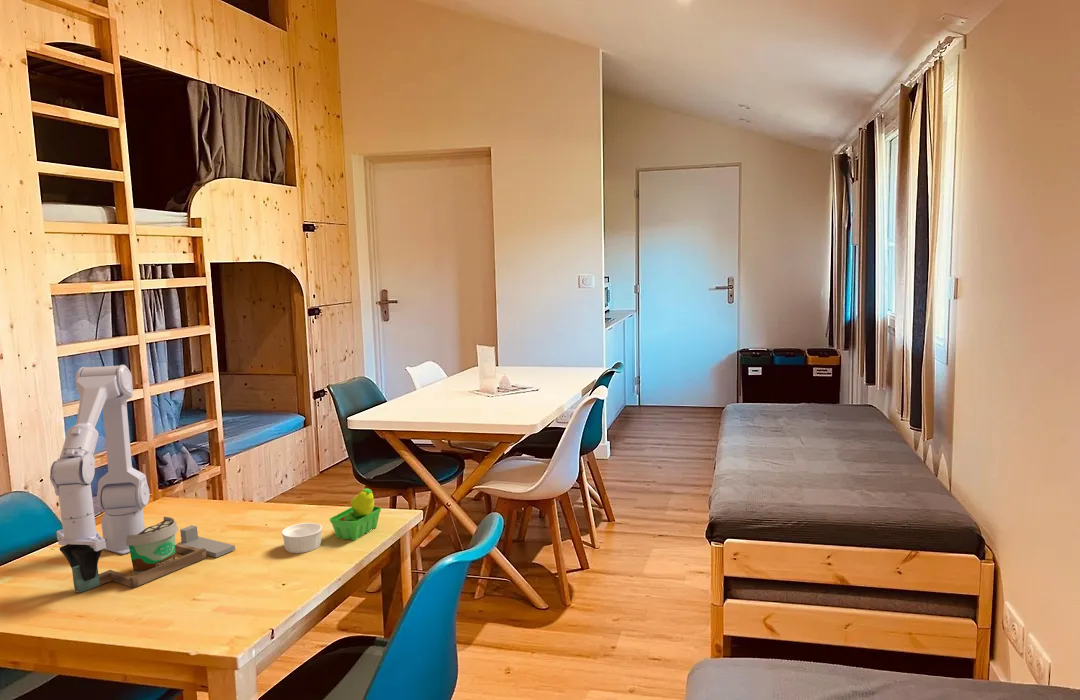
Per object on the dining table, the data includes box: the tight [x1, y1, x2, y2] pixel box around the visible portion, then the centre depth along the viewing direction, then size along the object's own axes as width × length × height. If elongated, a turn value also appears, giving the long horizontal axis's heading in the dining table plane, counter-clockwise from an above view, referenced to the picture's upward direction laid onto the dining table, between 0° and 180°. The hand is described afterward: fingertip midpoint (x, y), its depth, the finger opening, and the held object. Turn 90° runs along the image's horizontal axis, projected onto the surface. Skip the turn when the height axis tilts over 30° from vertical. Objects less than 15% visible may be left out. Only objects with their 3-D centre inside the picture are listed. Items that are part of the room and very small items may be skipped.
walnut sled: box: [71, 543, 208, 594], centre depth 162 cm, size 10×24×5 cm, turn 150°
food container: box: [126, 516, 179, 576], centre depth 163 cm, size 12×6×10 cm, turn 168°
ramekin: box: [281, 522, 323, 554], centre depth 174 cm, size 9×9×4 cm
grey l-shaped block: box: [177, 525, 236, 558], centre depth 175 cm, size 14×5×4 cm, turn 60°
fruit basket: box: [329, 488, 382, 541], centre depth 181 cm, size 11×9×11 cm
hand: (85, 577), depth 156 cm, fingers open, 2 cm apart
